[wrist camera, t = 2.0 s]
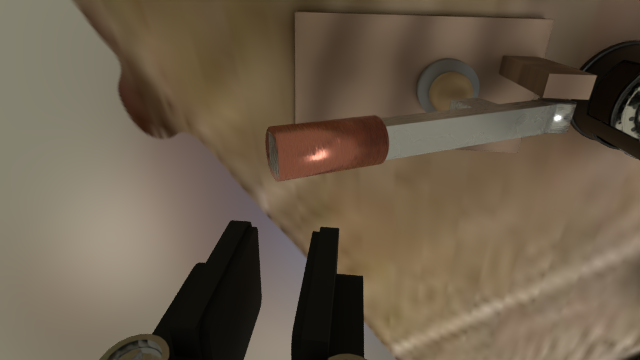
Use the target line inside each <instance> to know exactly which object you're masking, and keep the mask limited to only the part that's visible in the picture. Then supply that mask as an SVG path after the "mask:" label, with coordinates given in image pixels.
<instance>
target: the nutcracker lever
mask: <svg viewBox="0 0 640 360" xmlns="http://www.w3.org/2000/svg"><path fill="white" fill-rule="evenodd" d="M576 104H577V103H576V102H574V101H571V100H568V99H561V98H542V97H540V98H538V100H530V101H522V102H513V103H504V104H497V103H494V102H490V101H487V100H484V99H480V98H477V97H476V98H466V99H457V100H451V102H450V108H449V110H444V111H436V112H427V113H418V114H410V115H401V116H393V117H384V118H380V117H378V116H376V115H369V116H360V117H351V118H342V119H333V120H324V121H315V122H307V123H298V124H289V125H280V126H271V127H268V129H267V132H266V140H265V144H266V155H267V161H268V165H269V168H270V171H271V174H272V176H273V178H274V179H275V180H276V181H277V182H279V181H285V180H290V179H296V178H302V177H308V176H314V175H319V174H325V173H331V172H337V171H343V170H349V169H354V168H360V167H366V166H372V165H378V164H381V163H383V162H384V161H385V160H390V159H395V158H401V157H407V156H413V155H419V154H425V153H431V152H437V151H443V150H449V149H455V148H461V147H467V146H473V145H479V144H485V143H491V142H496V141H502V140H508V139H514V138H520V137H526V136H532V135H538V134H544V133H566V132H568V129H569V126H570V123H571V120H572V116H573V113H574V110H575V107H576Z"/></svg>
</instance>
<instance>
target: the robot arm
mask: <svg viewBox="0 0 640 360" xmlns="http://www.w3.org/2000/svg"><path fill="white" fill-rule="evenodd" d="M338 241H339V228H329V227H320V232H316V231H313V233H312V238H311V243H310V248H309V252H308V257H307V263H306V267H305V272H304V277H303V282H302V287H301V292H300V297H299V301H298V306H297V311H296V316H295V321H294V326H293V333H292V343H291V356H292V357H291V358H292V359H291V360H367V359H365V358H364V312H363V276H357V275H345V274H337V259H338ZM258 244H259V243H258V229H257V227H252V225H251V222H247V221H233V220H232V221H230V222H229V224H228V226H227V228H226V229H225V231H224V233H223V234H222V236H221V238H220V239H219V241H218V243H217V245H216V246H215V248H214V250H213V251H212V253H211V255H210V257H209V258H208V260H207V262H206V263H197V264H196V265H195V266H194V268H193V269H192V271H191V272H190V274H189V275H188V277H187V279H186V280H185V282H184V284H183V285H182V287H181V288H180V290H179V292H178V293H177V295H176V296H175V298H174V300H173V301H172V303H171V305H170V306H169V308H168V309H167V311H166V313H165V314H164V316H163V317H162V319H161V321H160V322H159V324H158V326H157V327H156V329H155V330H154V332H153V333H152V334H140V335H136V336H131V337H129V338H126V339H124V340H122V341H120V342H118V343H117V344H115V345H114V346H112V347H111V348H110V349H108V351H107V352H106V353H105V354H104V355H103V356H102V357H101V358H100V360H244V357H245V354H246V351H247V348H248V344H249V341H250V338H251V335H252V332H253V329H254V326H255V323H256V320H257V317H258V314H259V310H260V307H261V299H262V294H261V277H260V260H259V245H258Z"/></svg>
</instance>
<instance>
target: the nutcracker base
mask: <svg viewBox="0 0 640 360" xmlns="http://www.w3.org/2000/svg"><path fill="white" fill-rule="evenodd" d="M553 24H554V19H544V18H509V17H474V16H440V15H405V14H370V13H336V12H301V11H298V12H295V124H298V123H307V122H315V121H324V120H333V119H342V118H351V117H360V116H369V115H376V116H378V117H380V118H384V117H393V116H401V115H410V114H418V113H427V112H436V111H444V110H449V108H450V102H451V100H457V99H466V98H476V97H477V98H480V99H484V100H487V101H490V102H494V103H497V104H504V103H513V102H522V101H530V100H533V97H534V93H535V94H537V95H539V96H540V97H542V98H561V99H584V100H589V98H590V95H591V92H592V89H593V86H594V83H595V80H596V77H597V75H594V74H591V73H587V72H584V71H581V70H578V69H575V68H572V67H569V66H566V65H563V64H559V63H556V62H553V61H550V60H547V59H544V57H545V53H546V50H547V46H548V42H549V39H550V35H551V31H552V28H553ZM521 141H522V137H520V138H514V139H508V140H502V141H496V142H491V143H485V144H479V145H473V146H467V147H461V148H455V149H457V150H475V151H493V152H511V153H518V151H519V148H520V144H521Z"/></svg>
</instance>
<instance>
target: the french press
mask: <svg viewBox="0 0 640 360" xmlns="http://www.w3.org/2000/svg"><path fill="white" fill-rule="evenodd" d="M624 61H626V62H630V63H634V64H638V65H640V41H629V42H623V43H620V44H617V45H614V46H611V47H609V48H607V49H605V50H603V51H601V52H600V53H598V54H597V55H595V56H594V57H593V58H591V59H590V60H589V61H588V62H587V63H586V64H585V65H584V66H583V67H582V68H581V69H580V70H581V71H584V72H587V73H591V74H594V75H597V77H596V80H595V83H594V86H593V89H592V92H591V95H590V98H589V100H584V99H568V100H571V101H574V102H576V103H577V104H576V107H575V110H574V113H573V116H572V120H571V125H572V126H573V127H574V129H575V130H576V131H578V132H579V133H580V134H581V135H583V136H585V137H587V138H589V139H592V140H596V141H598V142H600V143H601V144H603V145H605V146H607V147H609V148H613V149H617V150H621V151H623V152H624V153H625V154H627V155H629V156H631V157H633V158H636V159H639V160H640V73H639V74H638V75H636V76H635V77H634V78H633V79H632V80H631V81H630V82H629V83H628V84H627V85H626V86H625V87H624V89H623V90H622V91H621V92H620V93H619V95H618V97H617V99H616V100H615V102H614V104H613V107H612V109H611V112H610V116H609V124H607V123H605V122H603V121H601V120H599V119H597V118H595V117H593V116H591V115H589V107H590V103H591V100H592V97H593V94H594V93H595V91H596V89H597V87H598V85H599V84H600V83H601V82H602V80H603V79H604V78H605V77H606V76H607V75H608V74H609V73H610V72H611V71H612V70H613V69H614V68H615V67H617V66H618V65H620V64H621V63H622V62H624Z"/></svg>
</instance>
